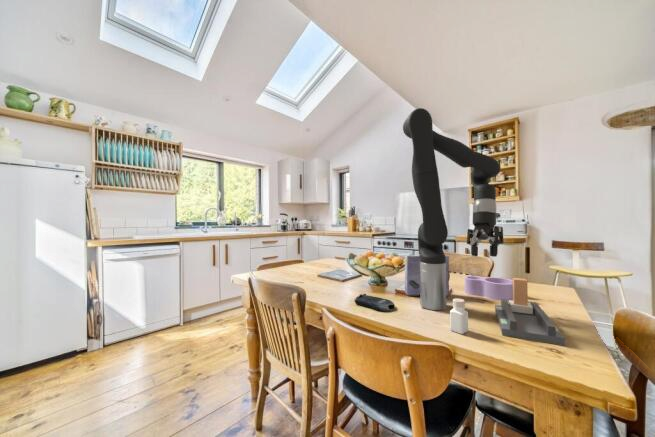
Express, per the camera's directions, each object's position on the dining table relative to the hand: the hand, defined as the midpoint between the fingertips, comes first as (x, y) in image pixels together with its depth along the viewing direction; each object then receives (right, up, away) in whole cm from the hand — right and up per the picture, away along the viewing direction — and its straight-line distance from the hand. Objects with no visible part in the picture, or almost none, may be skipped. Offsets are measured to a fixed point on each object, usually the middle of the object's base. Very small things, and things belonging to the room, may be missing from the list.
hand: (483, 256), depth 94 cm
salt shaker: (-16, -21, -15) cm, 31 cm away
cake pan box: (-12, -20, +21) cm, 32 cm away
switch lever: (+9, -18, -6) cm, 21 cm away
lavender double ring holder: (+14, -20, +18) cm, 31 cm away
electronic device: (-38, -21, +8) cm, 44 cm away
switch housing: (+6, -20, -12) cm, 24 cm away
